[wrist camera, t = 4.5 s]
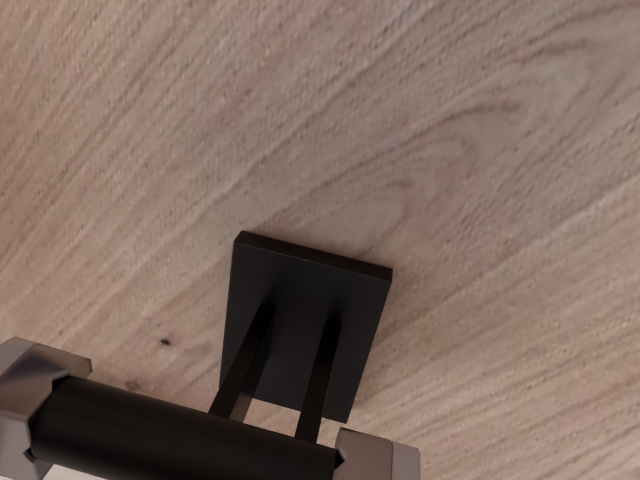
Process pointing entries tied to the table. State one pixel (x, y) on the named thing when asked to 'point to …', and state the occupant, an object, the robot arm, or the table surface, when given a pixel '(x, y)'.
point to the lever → (164, 440)
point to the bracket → (297, 330)
